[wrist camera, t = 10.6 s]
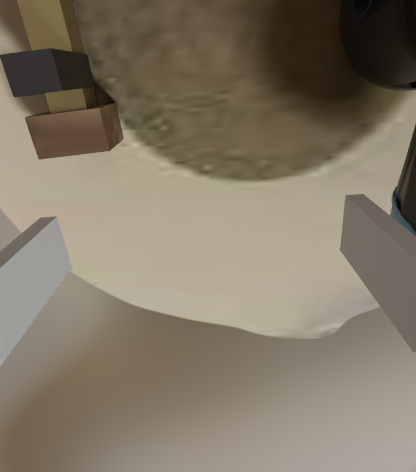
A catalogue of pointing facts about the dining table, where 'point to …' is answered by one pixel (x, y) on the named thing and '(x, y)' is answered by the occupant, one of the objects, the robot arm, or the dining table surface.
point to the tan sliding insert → (51, 57)
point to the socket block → (75, 131)
